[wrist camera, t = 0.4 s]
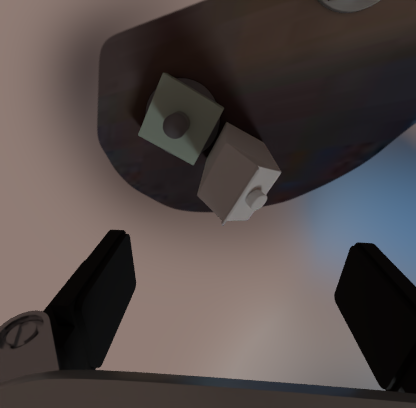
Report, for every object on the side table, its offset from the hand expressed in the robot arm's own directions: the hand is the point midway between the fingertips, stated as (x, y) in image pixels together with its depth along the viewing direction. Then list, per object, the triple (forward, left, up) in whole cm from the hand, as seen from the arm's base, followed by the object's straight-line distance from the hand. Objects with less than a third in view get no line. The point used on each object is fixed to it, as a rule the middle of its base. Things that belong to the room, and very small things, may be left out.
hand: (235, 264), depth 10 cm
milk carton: (+3, +3, -33) cm, 33 cm away
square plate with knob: (+2, -7, -32) cm, 33 cm away
